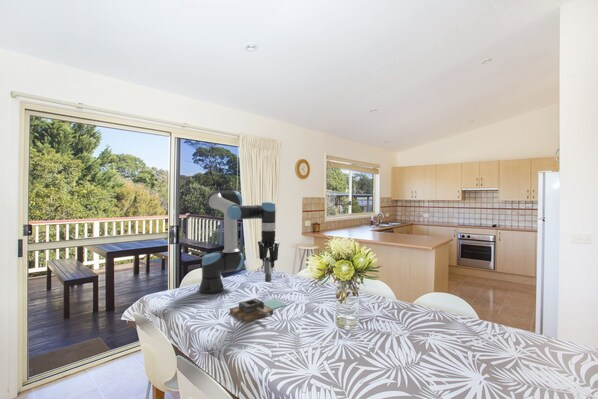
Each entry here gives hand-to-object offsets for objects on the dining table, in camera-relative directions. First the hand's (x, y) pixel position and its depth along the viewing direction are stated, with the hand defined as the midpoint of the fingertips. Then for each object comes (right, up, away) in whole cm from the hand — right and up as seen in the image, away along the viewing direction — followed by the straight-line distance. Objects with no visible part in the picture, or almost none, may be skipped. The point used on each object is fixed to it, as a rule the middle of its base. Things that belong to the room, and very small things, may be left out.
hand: (268, 272), depth 163 cm
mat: (+2, -19, +3) cm, 19 cm away
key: (0, -5, 0) cm, 5 cm away
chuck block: (-5, -19, -12) cm, 23 cm away
